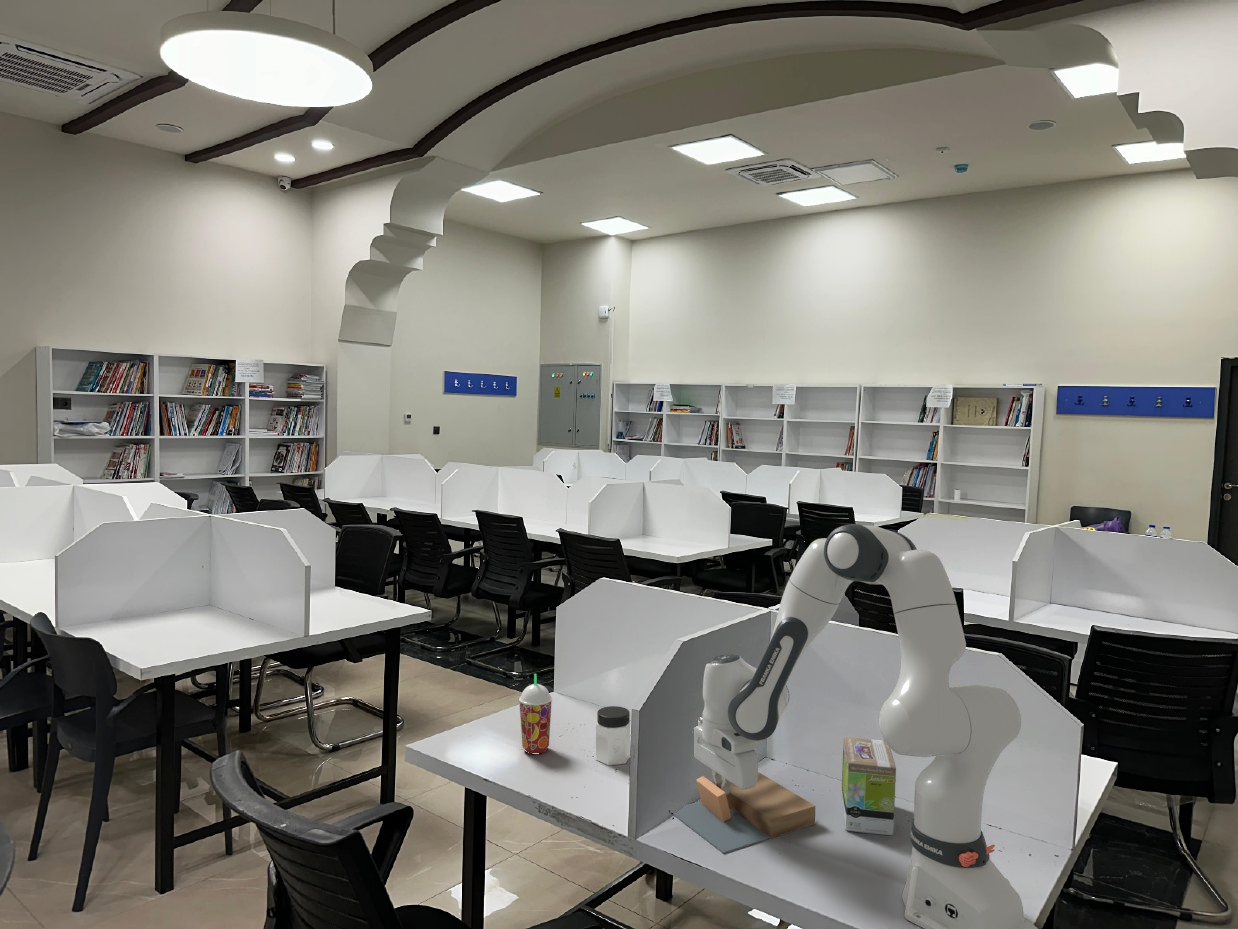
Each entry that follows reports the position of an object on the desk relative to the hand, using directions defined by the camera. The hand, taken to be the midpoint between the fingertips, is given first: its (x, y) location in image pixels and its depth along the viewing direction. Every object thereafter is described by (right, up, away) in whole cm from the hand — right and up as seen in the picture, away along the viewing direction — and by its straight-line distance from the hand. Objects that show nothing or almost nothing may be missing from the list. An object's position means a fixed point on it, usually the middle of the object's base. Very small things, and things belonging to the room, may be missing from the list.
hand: (722, 792), depth 181 cm
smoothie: (-44, -3, +34) cm, 55 cm away
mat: (-1, -5, -4) cm, 7 cm away
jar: (-24, -3, +29) cm, 38 cm away
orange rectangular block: (-1, -1, +1) cm, 2 cm away
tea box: (+31, -5, 0) cm, 32 cm away
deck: (+9, -5, +2) cm, 10 cm away
